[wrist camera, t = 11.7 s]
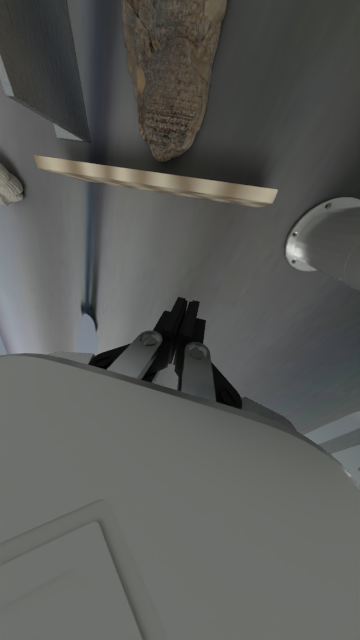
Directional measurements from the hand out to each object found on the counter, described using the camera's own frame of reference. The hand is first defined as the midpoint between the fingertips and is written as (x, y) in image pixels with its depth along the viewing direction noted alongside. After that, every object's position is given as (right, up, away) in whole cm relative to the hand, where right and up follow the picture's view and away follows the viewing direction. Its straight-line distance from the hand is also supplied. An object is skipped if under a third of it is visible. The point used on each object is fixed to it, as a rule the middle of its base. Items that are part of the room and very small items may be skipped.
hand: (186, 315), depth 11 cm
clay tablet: (-2, +38, +10) cm, 39 cm away
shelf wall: (-4, +27, +18) cm, 33 cm away
